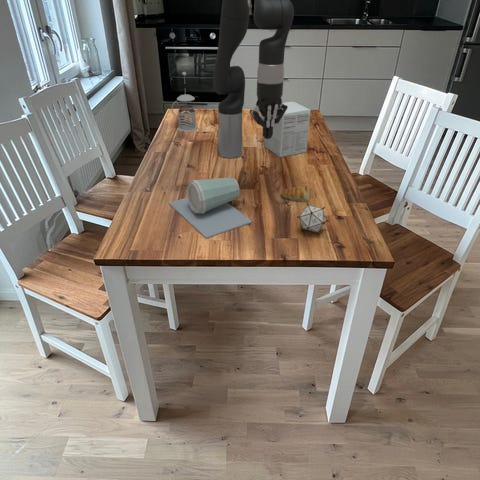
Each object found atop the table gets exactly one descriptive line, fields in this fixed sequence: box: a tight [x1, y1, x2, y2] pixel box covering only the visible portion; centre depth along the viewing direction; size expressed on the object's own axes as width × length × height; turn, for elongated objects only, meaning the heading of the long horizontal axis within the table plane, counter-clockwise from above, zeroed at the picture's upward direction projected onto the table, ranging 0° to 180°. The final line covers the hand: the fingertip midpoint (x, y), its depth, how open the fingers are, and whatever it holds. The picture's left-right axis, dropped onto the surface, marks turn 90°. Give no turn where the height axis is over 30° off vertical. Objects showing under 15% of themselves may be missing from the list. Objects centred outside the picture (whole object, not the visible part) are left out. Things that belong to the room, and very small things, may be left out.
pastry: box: [280, 185, 310, 203], centre depth 137 cm, size 9×7×4 cm
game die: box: [296, 202, 329, 236], centre depth 119 cm, size 9×8×10 cm
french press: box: [171, 71, 199, 133], centre depth 186 cm, size 10×12×25 cm
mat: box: [168, 196, 253, 239], centre depth 129 cm, size 24×16×1 cm, turn 34°
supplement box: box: [264, 101, 312, 158], centre depth 168 cm, size 13×13×18 cm
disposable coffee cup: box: [186, 177, 241, 214], centre depth 128 cm, size 11×11×15 cm
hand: (267, 137), depth 128 cm, fingers closed
